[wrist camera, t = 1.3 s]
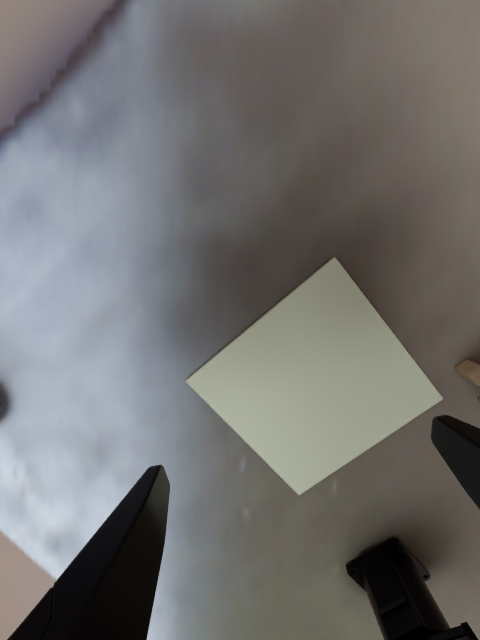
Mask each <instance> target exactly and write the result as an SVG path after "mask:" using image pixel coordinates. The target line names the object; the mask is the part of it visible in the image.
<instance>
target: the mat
mask: <svg viewBox="0 0 480 640" xmlns="http://www.w3.org/2000/svg"><path fill="white" fill-rule="evenodd" d="M186 382H187V383H188V384H189V385H190V386H191V387H192V388H193V389H194V390H195V391H196V392H197V393H198V394H199V395H200V396H201V397H202V398H203V399H204V400H205V401H206V402H207V403H208V404H209V405H210V406H211V407H212V408H213V409H214V410H215V411H216V412H217V413H218V414H219V415H220V416H221V417H222V418H223V419H224V420H225V421H226V422H227V423H228V424H229V425H230V426H231V427H232V428H233V429H234V430H235V431H236V432H237V433H238V434H239V435H240V436H241V438H242V439H243V440H244V441H245V442H246V443H247V444H248V445H249V446H250V447H251V448H252V449H253V450H254V451H255V452H256V453H257V454H258V455H259V456H260V457H261V458H262V459H263V460H264V461H265V462H266V463H267V464H268V465H269V466H270V467H271V468H272V469H273V470H274V471H275V472H276V473H277V474H278V475H279V476H280V477H281V478H282V479H283V480H284V481H285V482H286V483H287V484H288V485H289V486H290V487H291V488H292V489H293V490H294V491H295V492H296V493H297V494H298V495H300V494H302V493H303V492H305V491H306V490H308V489H309V488H311V487H312V486H314V485H315V484H317V483H318V482H320V481H321V480H323V479H324V478H326V477H327V476H329V475H330V474H332V473H333V472H335V471H336V470H338V469H339V468H341V467H342V466H344V465H345V464H347V463H348V462H350V461H351V460H353V459H354V458H356V457H357V456H359V455H360V454H362V453H363V452H365V451H366V450H368V449H369V448H371V447H372V446H374V445H375V444H377V443H378V442H380V441H381V440H383V439H384V438H386V437H387V436H389V435H390V434H392V433H393V432H395V431H396V430H398V429H399V428H401V427H402V426H404V425H405V424H407V423H408V422H410V421H411V420H413V419H414V418H416V417H417V416H418V415H420V414H421V413H423V412H424V411H426V410H427V409H429V408H430V407H432V406H433V405H435V404H436V403H438V402H439V401H441V400H442V399H443V398H442V396H441V395H440V394H439V392H438V391H437V390H436V388H435V387H434V386H433V385H432V383H431V382H430V381H429V379H428V378H427V377H426V375H425V374H424V373H423V371H422V370H421V369H420V368H419V366H418V365H417V364H416V362H415V361H414V360H413V358H412V357H411V356H410V354H409V353H408V352H407V351H406V349H405V348H404V347H403V345H402V344H401V343H400V341H399V340H398V339H397V337H396V336H395V335H394V334H393V332H392V331H391V330H390V328H389V327H388V326H387V324H386V323H385V322H384V320H383V319H382V318H381V317H380V315H379V314H378V313H377V311H376V310H375V309H374V307H373V306H372V305H371V303H370V302H369V301H368V300H367V298H366V297H365V296H364V294H363V293H362V292H361V290H360V289H359V288H358V286H357V285H356V284H355V283H354V281H353V280H352V279H351V277H350V276H349V275H348V273H347V272H346V271H345V269H344V268H343V267H342V266H341V264H340V263H339V262H338V260H337V259H336V258H335V257H333V258H332V259H331V260H329V261H328V262H327V263H326V264H324V265H323V266H322V267H321V268H320V269H318V270H317V271H316V272H315V273H314V274H312V275H311V276H310V277H309V278H308V279H306V280H305V281H304V282H303V283H302V284H300V285H299V286H298V287H297V288H296V289H294V290H293V291H292V292H291V293H290V294H288V295H287V296H286V297H285V298H284V299H282V300H281V301H280V302H279V303H278V304H276V305H275V306H274V307H273V308H272V309H270V310H269V311H268V312H267V313H265V314H264V315H263V316H262V317H261V318H259V319H258V320H257V321H256V322H255V323H253V324H252V325H251V326H250V327H249V328H247V329H246V330H245V331H244V332H243V333H241V334H240V335H239V336H238V337H237V338H235V339H234V340H233V341H232V342H231V343H229V344H228V345H227V346H226V347H225V348H223V349H222V350H221V351H220V352H219V353H217V354H216V355H215V356H214V357H213V358H211V359H210V360H209V361H208V362H207V363H205V364H204V365H203V366H202V367H200V368H199V369H198V370H197V371H196V372H194V373H193V374H192V375H191V376H190V377H188V378H187V379H186Z"/></svg>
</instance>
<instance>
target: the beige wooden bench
mask: <svg viewBox="0 0 480 640" xmlns="http://www.w3.org/2000/svg"><path fill="white" fill-rule="evenodd" d="M455 369H456V370H457V371H458V373H459V374H460V375H461V377H462V378H464V379H466V380H468V381H470V382H471V383H473V384H475V385H477V386H479V387H480V365H479V364H477V363H475V362H473V361H470V360H468V359H466V360H465V361H463V362H462V363H460V364H459V365H458V366H456V367H455ZM478 400H479V401H480V398H479V399H478Z"/></svg>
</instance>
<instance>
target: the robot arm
mask: <svg viewBox="0 0 480 640" xmlns="http://www.w3.org/2000/svg"><path fill="white" fill-rule="evenodd" d="M431 439H432V442H433V444H434V446H435V447H436V449H437V450H438V452H439V453H440V454H441V456H442V457H443V459H444V460H445V462H446V463H447V465H448V466H449V468H450V469H451V471H452V472H453V474H454V475H455V477H456V478H457V480H458V481H459V482H460V484H461V485H462V487H463V488H464V490H465V491H466V492H467V494H468V495H469V496H470V498H471V499H472V500H473V501H474V503H475V504H476V505H477V506H478V508H479V509H480V429H479V428H477V427H475V426H472V425H470V424H468V423H465V422H463V421H461V420H458V419H456V418H453V417H451V416H448V415H442V416H436V417H434V418H433V419H432V428H431ZM169 493H170V484H169V480H168V478H167V475H166V472H165V469H164V467H163V466H162V465H156V466H151V467H149V468H148V469H147V470H146V472H145V473H144V474H143V475H142V477H141V478H140V479H139V480H138V481H137V483H136V484H135V485H134V486H133V488H132V489H131V490H130V491H129V492H128V494H127V495H126V496H125V497H124V499H123V500H122V501H121V502H120V504H119V505H118V506H117V507H116V508H115V510H114V511H113V512H112V513H111V515H110V516H109V517H108V518H107V519H106V521H105V522H104V523H103V524H102V526H101V527H100V528H99V529H98V531H97V532H96V533H95V534H94V535H93V537H92V538H91V539H90V540H89V542H88V543H87V544H86V545H85V546H84V548H83V549H82V550H81V551H80V553H79V554H78V555H77V556H76V558H75V559H74V560H73V561H72V562H71V564H70V565H69V566H68V567H67V569H66V570H65V571H64V572H63V573H62V575H61V576H60V577H59V578H58V580H57V581H56V582H55V583H54V586H53V587H52V588H50V589H49V591H48V592H47V593H46V594H45V595H44V597H43V598H42V599H41V600H40V602H39V603H38V604H37V605H36V606H35V608H34V609H33V610H32V611H31V612H30V614H29V615H28V616H27V617H26V618H25V620H24V621H23V622H22V623H21V624H20V626H19V627H18V628H17V629H16V630H15V631H14V633H13V634H12V635H11V636H10V637H9V638H8V639H7V640H146V639H147V634H148V628H149V623H150V618H151V613H152V607H153V602H154V597H155V592H156V586H157V581H158V576H159V571H160V565H161V560H162V555H163V549H164V543H165V534H166V524H167V514H168V503H169ZM346 570H347V573H348V575H349V576H351V577H352V578H353V579H354V580H355V581H356V582H357V583H358V584H359V585H360V586H361V587H362V588H363V589H364V590H365V591H366V592H367V595H368V597H369V600H370V603H371V605H372V608H373V611H374V614H375V616H376V619H377V622H378V624H379V627H380V630H381V632H382V635H383V638H384V640H478V639H477V637H476V636H475V634H474V632H473V631H472V629H471V628H470V626H469V625H468V623H467V622H464V623H461V626H457V627H454V628H450V627H449V625H448V623H447V621H446V619H445V618H444V616H443V614H442V612H441V611H440V609H439V607H438V605H437V603H436V602H435V600H434V598H433V596H432V594H431V593H430V591H429V589H428V587H427V586H426V584H425V582H424V581H426V580H428V579H429V578H430V574H429V572H428V571H427V569H426V568H425V567H424V566H423V565H422V564H421V563H420V562H419V561H418V560H417V559H416V558H415V556H414V555H413V554H412V553H411V552H410V551H409V550H408V549H407V548H406V547H405V546H404V545H403V544H402V543H401V541H400V540H399V539H397V538H393V539H391V540H390V541H388V542H386V543H384V544H383V545H381V546H379V547H378V548H376V549H374V550H373V551H371V552H369V553H368V554H366V555H364V556H362V557H361V558H359V559H357V560H356V561H354V562H352V563H351V564H349V565H348V566H347V567H346Z"/></svg>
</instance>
